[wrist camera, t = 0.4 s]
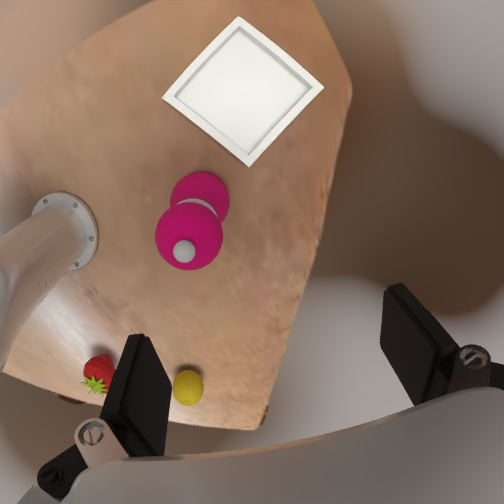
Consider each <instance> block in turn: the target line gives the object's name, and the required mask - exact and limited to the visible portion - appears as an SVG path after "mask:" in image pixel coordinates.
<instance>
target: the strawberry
mask: <svg viewBox="0 0 504 504" xmlns="http://www.w3.org/2000/svg"><path fill="white" fill-rule="evenodd" d="M114 372H115V369H114V366H113V363H112V361H111V358H110V357H109V356H108V355H99V356H95V357H92V358H91V359H90V360H89V361H88V362H87V363H86V364H85V367H84V372H83V373H84V377H85V380H86V382H87V383H83V382H81V383H82V384H84V385H86V386H88V387H91V388H92V390H93V392H94V394H95V392H96V391H97V392H99V393H100V394H101V395H102V396H103V393H107V392H108V389H109V386H110V383H111V380H112V377H113V374H114ZM92 390H91V391H92ZM91 391H90V392H91ZM90 392H89V393H90ZM89 393H88V394H89Z"/></svg>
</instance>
